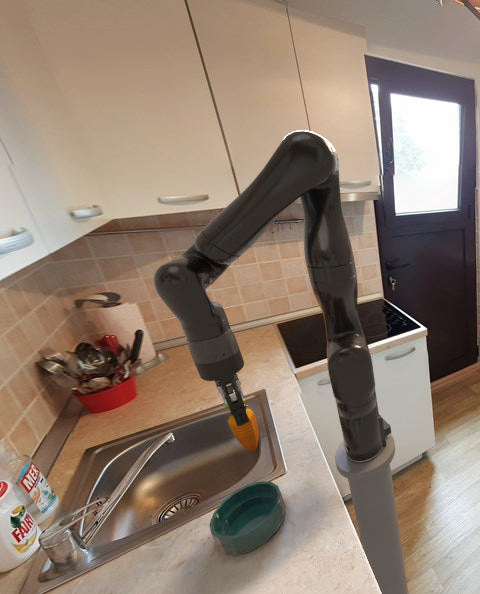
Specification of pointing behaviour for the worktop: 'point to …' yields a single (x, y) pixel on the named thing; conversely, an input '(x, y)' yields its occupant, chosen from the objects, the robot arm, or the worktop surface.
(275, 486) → the bowl
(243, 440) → the carrot
